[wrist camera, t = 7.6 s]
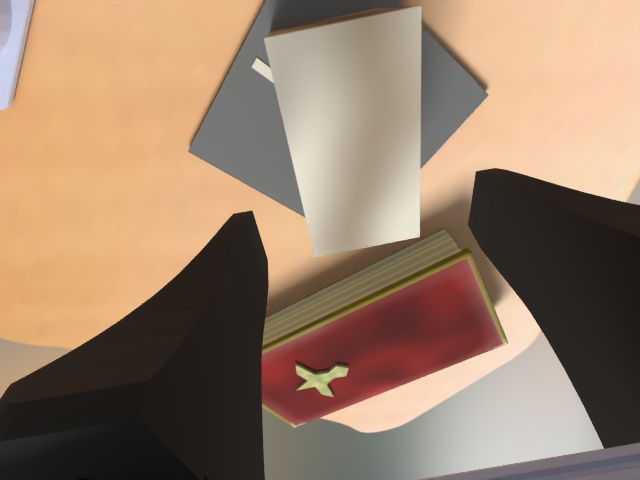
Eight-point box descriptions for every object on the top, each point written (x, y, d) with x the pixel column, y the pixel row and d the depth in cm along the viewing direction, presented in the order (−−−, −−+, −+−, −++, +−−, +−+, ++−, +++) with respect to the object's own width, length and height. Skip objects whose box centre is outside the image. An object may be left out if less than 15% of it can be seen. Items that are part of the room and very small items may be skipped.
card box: (306, 198, 21) (314, 257, 16) (268, 29, 15) (263, 39, 10) (386, 182, 21) (419, 236, 16) (375, 6, 15) (421, 5, 10)
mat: (189, 148, 19) (187, 151, 18) (310, -85, 14) (311, -88, 13) (351, 240, 24) (352, 244, 23) (485, 93, 18) (489, 95, 18)
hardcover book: (485, 309, 30) (511, 348, 27) (294, 390, 35) (296, 432, 32) (445, 218, 24) (473, 254, 20) (218, 333, 29) (210, 377, 25)
